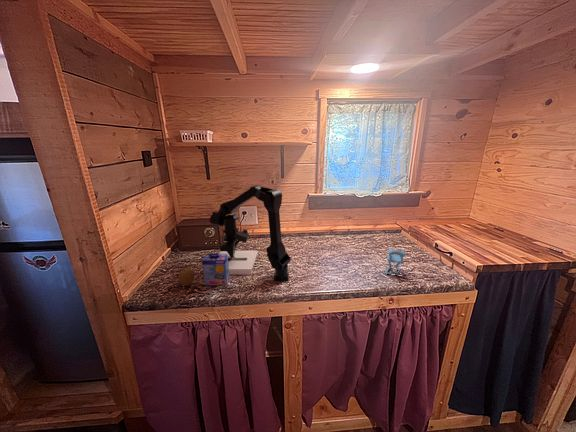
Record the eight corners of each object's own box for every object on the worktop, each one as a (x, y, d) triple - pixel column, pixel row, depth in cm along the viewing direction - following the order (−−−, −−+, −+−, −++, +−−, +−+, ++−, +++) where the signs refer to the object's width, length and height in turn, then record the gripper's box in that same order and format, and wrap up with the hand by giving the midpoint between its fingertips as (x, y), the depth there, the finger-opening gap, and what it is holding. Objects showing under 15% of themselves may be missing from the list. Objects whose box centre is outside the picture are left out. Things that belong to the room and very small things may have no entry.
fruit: (197, 281, 101) (195, 265, 99) (191, 289, 95) (189, 272, 93) (184, 281, 101) (181, 264, 99) (176, 289, 95) (174, 272, 93)
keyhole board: (251, 274, 106) (251, 269, 105) (208, 274, 106) (208, 268, 106) (258, 255, 125) (257, 250, 124) (221, 255, 126) (221, 250, 125)
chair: (401, 268, 111) (404, 246, 108) (403, 277, 103) (407, 253, 100) (384, 266, 113) (387, 243, 110) (385, 274, 106) (388, 250, 103)
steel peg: (236, 266, 114) (235, 249, 111) (227, 266, 114) (226, 249, 111) (238, 261, 118) (237, 245, 115) (230, 261, 118) (228, 245, 115)
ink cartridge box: (204, 286, 97) (200, 255, 93) (207, 279, 103) (204, 249, 99) (227, 285, 98) (224, 254, 94) (229, 278, 103) (227, 248, 99)
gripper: (242, 234, 101) (245, 265, 105) (250, 221, 119) (252, 248, 123) (217, 234, 101) (221, 265, 106) (229, 221, 119) (231, 249, 124)
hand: (232, 256), depth 115 cm, fingers closed on steel peg, 2 cm apart
